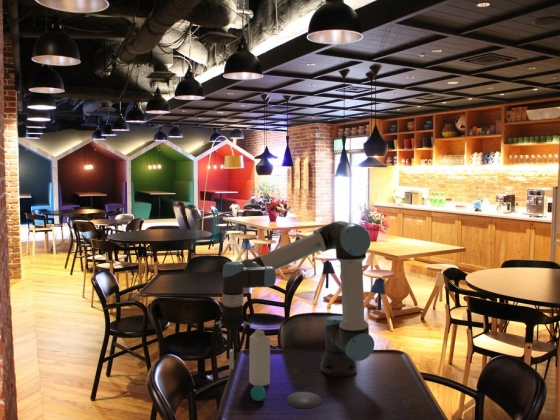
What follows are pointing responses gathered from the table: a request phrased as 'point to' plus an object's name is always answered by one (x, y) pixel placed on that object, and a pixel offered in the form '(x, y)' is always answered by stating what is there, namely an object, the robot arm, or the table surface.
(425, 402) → the table surface
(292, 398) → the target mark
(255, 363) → the milk
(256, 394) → the ball
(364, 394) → the table surface
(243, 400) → the table surface
